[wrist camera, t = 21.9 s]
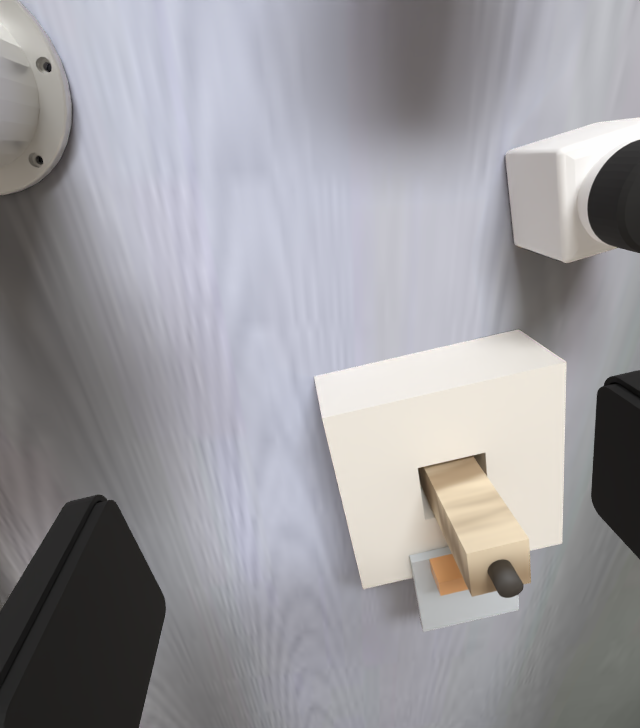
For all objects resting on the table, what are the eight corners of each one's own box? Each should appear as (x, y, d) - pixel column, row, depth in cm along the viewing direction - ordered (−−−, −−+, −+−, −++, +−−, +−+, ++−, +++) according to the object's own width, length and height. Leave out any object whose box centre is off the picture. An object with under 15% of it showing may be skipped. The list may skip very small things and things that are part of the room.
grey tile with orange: (420, 624, 43) (431, 657, 40) (409, 555, 39) (420, 587, 36) (514, 602, 43) (532, 634, 40) (511, 531, 39) (531, 561, 36)
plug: (412, 444, 39) (476, 573, 27) (457, 433, 39) (542, 557, 27) (418, 480, 41) (481, 617, 29) (462, 470, 41) (543, 602, 29)
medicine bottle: (512, 246, 36) (616, 284, 25) (502, 151, 33) (615, 147, 22) (600, 219, 36) (743, 245, 25) (598, 121, 33) (758, 102, 22)
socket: (350, 530, 47) (363, 589, 40) (313, 376, 39) (322, 418, 33) (522, 491, 47) (562, 543, 40) (518, 329, 39) (566, 362, 33)
